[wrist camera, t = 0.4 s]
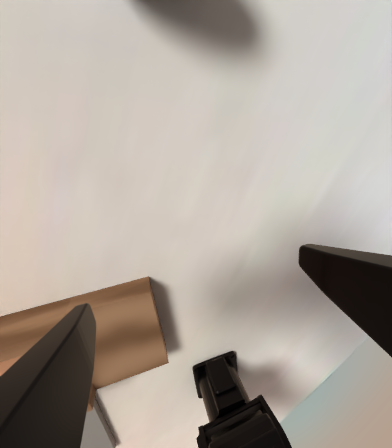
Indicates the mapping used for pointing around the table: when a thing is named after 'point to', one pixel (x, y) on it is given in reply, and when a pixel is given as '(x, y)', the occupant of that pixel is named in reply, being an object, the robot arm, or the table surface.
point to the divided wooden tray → (98, 331)
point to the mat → (96, 430)
